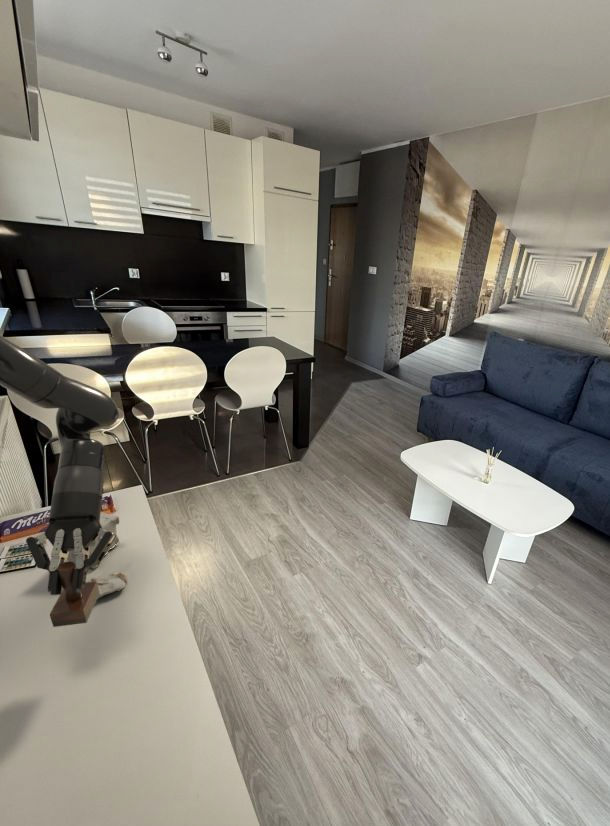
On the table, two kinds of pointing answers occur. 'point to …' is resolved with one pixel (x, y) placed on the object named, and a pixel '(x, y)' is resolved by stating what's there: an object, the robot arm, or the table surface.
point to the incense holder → (107, 524)
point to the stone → (110, 583)
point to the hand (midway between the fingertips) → (66, 593)
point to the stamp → (73, 599)
